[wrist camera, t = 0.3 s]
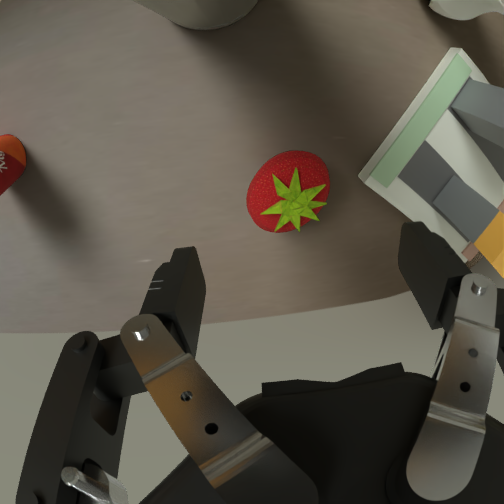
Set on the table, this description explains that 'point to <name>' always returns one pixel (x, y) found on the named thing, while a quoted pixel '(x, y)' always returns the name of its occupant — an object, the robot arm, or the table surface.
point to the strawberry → (288, 191)
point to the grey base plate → (444, 148)
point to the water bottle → (466, 8)
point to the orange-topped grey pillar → (474, 219)
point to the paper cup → (10, 161)
